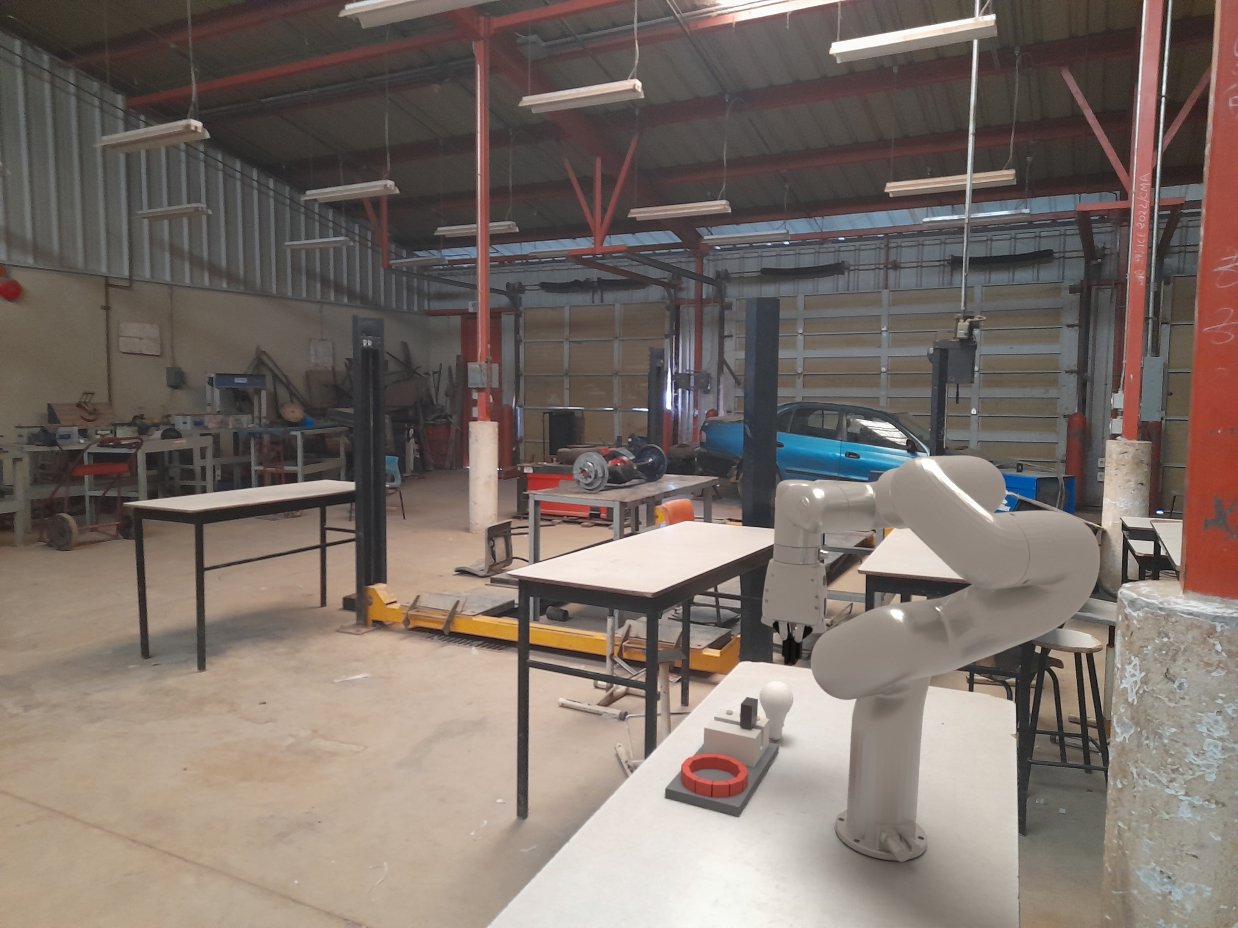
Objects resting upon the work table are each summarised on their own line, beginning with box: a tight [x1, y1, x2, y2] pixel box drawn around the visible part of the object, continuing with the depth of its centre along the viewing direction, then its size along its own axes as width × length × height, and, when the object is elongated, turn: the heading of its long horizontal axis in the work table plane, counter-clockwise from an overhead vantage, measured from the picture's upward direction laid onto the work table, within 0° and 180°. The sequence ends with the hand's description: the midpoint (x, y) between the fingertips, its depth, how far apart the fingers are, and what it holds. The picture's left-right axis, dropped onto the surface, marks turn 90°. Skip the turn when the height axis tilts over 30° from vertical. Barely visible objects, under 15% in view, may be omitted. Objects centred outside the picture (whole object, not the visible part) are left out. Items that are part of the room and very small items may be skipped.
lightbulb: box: [758, 680, 794, 741], centre depth 144 cm, size 6×6×11 cm
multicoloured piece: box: [664, 709, 780, 817], centre depth 131 cm, size 24×12×7 cm, turn 154°
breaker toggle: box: [739, 696, 759, 729], centre depth 135 cm, size 4×2×7 cm, turn 154°
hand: (791, 661), depth 131 cm, fingers closed
